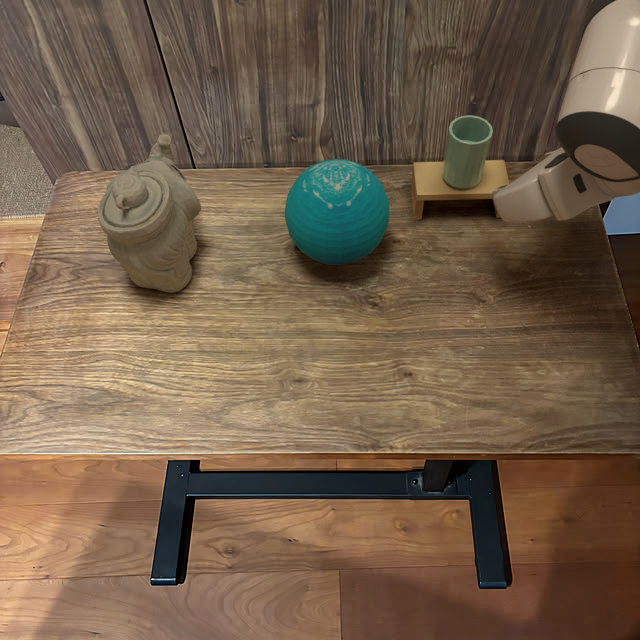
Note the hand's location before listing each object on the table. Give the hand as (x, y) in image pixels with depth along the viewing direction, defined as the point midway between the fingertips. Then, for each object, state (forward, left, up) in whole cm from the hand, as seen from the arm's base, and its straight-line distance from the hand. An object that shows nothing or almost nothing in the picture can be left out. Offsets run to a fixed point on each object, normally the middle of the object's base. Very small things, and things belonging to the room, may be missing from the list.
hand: (520, 178), depth 86 cm
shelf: (+8, -5, -12) cm, 15 cm away
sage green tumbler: (+8, -5, -6) cm, 11 cm away
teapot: (+49, +15, -12) cm, 53 cm away
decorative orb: (+24, +8, -12) cm, 28 cm away
